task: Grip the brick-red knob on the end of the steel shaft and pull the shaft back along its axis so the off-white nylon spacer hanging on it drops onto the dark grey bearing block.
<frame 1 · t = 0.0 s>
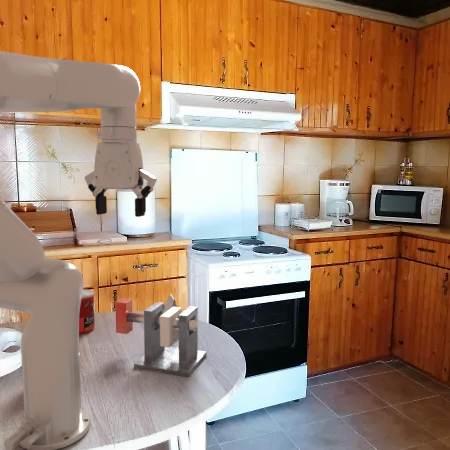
hand: (120, 215, 95), 37 cm above the table, tool pointing down, fingers open, 9 cm apart
shaft: (156, 320, 105), point 10 cm above the table, slide at 0.0 cm, touching spacer
bearing block: (140, 356, 108), on the table
spacer: (171, 326, 104), point 9 cm above the table, touching shaft
grey pointed block: (172, 330, 126), on the table
canned food: (80, 330, 125), on the table
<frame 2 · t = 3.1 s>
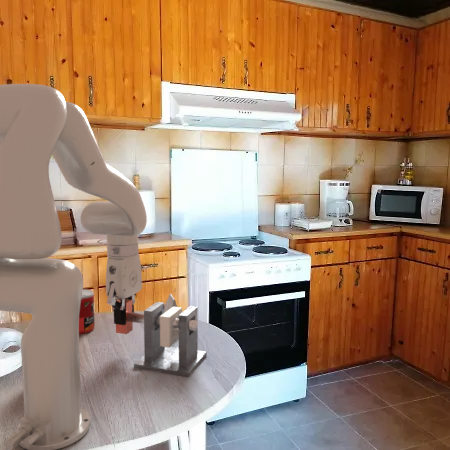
hand: (124, 320, 108), 9 cm above the table, tool pointing down, fingers closed on shaft, 3 cm apart
shaft: (156, 320, 105), point 10 cm above the table, slide at 0.0 cm, touching gripper, spacer
everything else where it was.
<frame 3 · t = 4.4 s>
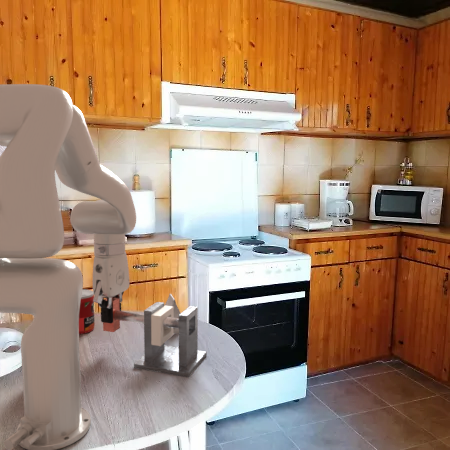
hand: (111, 319, 109), 9 cm above the table, tool pointing down, fingers closed on shaft, 3 cm apart
shaft: (143, 318, 106), point 10 cm above the table, slide at 3.7 cm, touching gripper
spacer: (162, 325, 105), point 9 cm above the table
everything else where it was.
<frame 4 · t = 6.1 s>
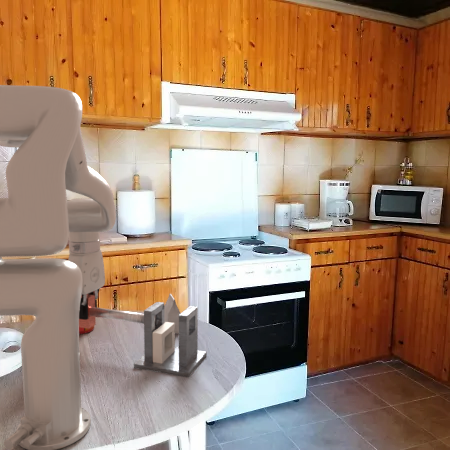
hand: (86, 315, 111), 9 cm above the table, tool pointing down, fingers closed on shaft, 3 cm apart
shaft: (117, 315, 109), point 10 cm above the table, slide at 11.0 cm, touching gripper
spacer: (164, 342, 105), point 5 cm above the table, touching bearing block
everything else where it was.
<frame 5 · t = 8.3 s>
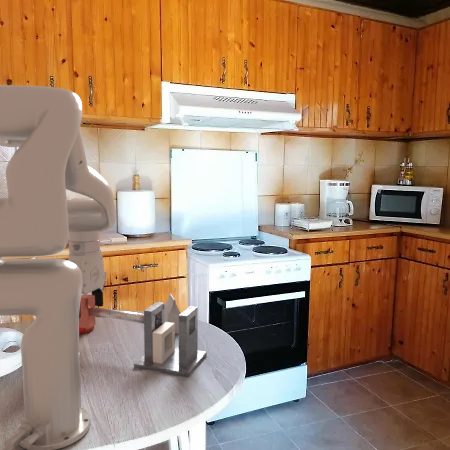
hand: (86, 311, 111), 10 cm above the table, tool pointing down, fingers open, 9 cm apart
shaft: (117, 315, 109), point 10 cm above the table, slide at 11.0 cm
everything else where it was.
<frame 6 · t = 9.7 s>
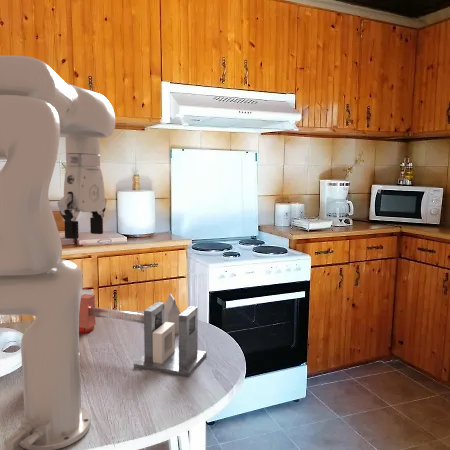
hand: (84, 236, 101), 31 cm above the table, tool pointing down, fingers open, 9 cm apart
nothing on the table moved.
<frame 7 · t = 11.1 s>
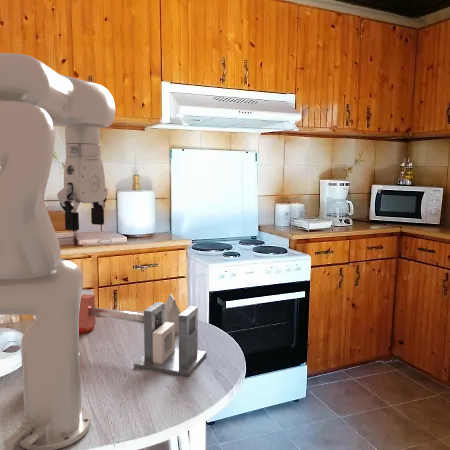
hand: (85, 227, 100), 33 cm above the table, tool pointing down, fingers open, 9 cm apart
nothing on the table moved.
at the end: shaft slide at 11.0 cm; spacer point 4.7 cm above the table; spacer touching bearing block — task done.
